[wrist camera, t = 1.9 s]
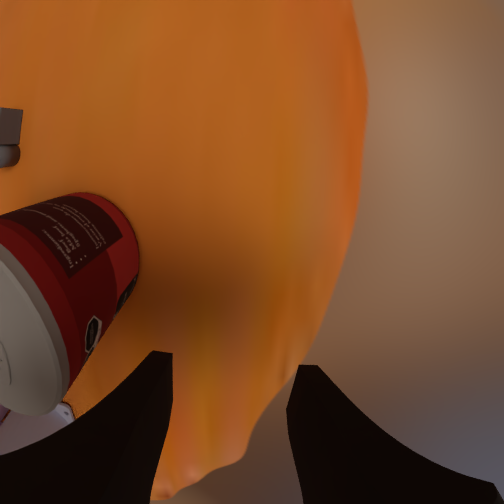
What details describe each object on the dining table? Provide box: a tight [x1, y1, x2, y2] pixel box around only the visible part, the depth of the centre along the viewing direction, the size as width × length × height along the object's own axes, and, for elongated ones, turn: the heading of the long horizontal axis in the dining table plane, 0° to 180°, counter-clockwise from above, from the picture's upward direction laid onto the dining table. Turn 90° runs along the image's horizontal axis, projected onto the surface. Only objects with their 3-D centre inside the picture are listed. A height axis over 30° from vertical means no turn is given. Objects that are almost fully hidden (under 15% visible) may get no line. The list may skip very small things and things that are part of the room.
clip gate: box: [0, 108, 23, 168], centre depth 16 cm, size 19×2×2 cm, turn 172°
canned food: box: [0, 192, 139, 416], centre depth 13 cm, size 8×8×11 cm
